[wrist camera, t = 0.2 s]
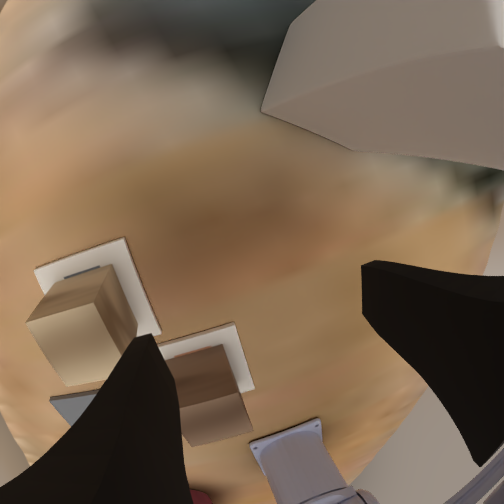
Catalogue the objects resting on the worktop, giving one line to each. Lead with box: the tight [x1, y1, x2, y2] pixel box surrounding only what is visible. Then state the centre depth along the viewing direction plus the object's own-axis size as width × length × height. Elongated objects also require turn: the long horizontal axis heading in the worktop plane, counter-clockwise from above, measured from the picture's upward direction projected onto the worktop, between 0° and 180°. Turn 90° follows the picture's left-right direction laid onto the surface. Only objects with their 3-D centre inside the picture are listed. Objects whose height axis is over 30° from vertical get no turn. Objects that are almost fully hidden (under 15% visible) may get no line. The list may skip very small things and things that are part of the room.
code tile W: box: [157, 322, 255, 393], centre depth 21 cm, size 7×7×1 cm
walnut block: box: [165, 344, 254, 447], centre depth 18 cm, size 4×4×5 cm
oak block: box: [25, 264, 138, 387], centre depth 14 cm, size 4×4×5 cm
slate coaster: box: [49, 389, 100, 426], centre depth 21 cm, size 9×9×1 cm
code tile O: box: [34, 237, 162, 337], centre depth 17 cm, size 7×7×1 cm
